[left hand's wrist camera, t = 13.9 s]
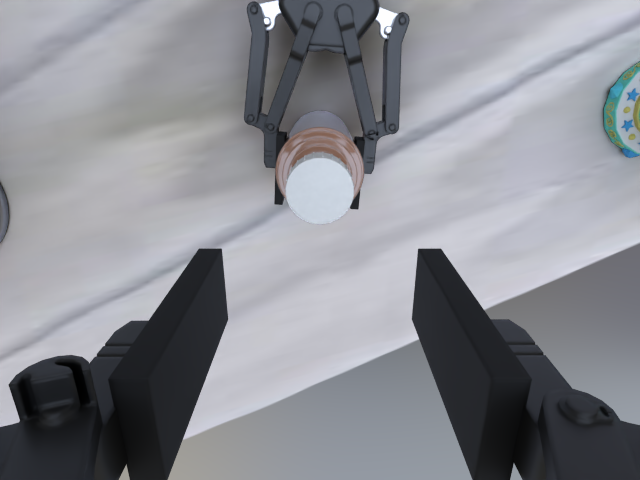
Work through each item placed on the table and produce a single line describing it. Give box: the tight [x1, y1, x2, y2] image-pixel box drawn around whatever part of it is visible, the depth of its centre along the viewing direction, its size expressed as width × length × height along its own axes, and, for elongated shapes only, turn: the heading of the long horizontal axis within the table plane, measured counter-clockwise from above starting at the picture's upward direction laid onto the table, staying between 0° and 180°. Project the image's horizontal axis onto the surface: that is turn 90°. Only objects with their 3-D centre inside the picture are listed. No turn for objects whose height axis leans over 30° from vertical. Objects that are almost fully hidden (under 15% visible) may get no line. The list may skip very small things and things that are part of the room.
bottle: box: [276, 111, 364, 200], centre depth 36 cm, size 7×7×21 cm
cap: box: [285, 152, 354, 224], centre depth 27 cm, size 4×4×2 cm
